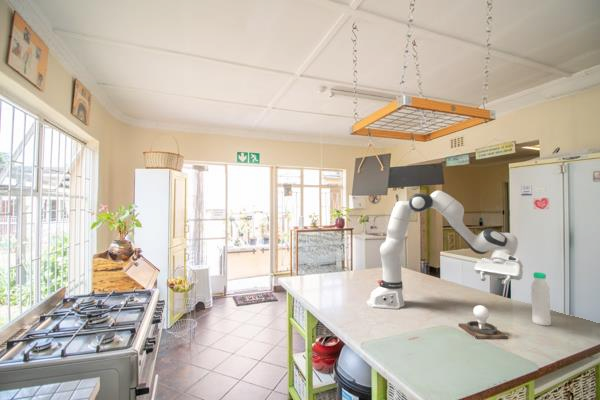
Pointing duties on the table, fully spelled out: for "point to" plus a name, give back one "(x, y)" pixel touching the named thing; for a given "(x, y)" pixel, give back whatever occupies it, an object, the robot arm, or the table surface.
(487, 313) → the lightbulb
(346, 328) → the table surface
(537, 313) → the water bottle
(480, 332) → the collar
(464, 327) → the board
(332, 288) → the table surface
